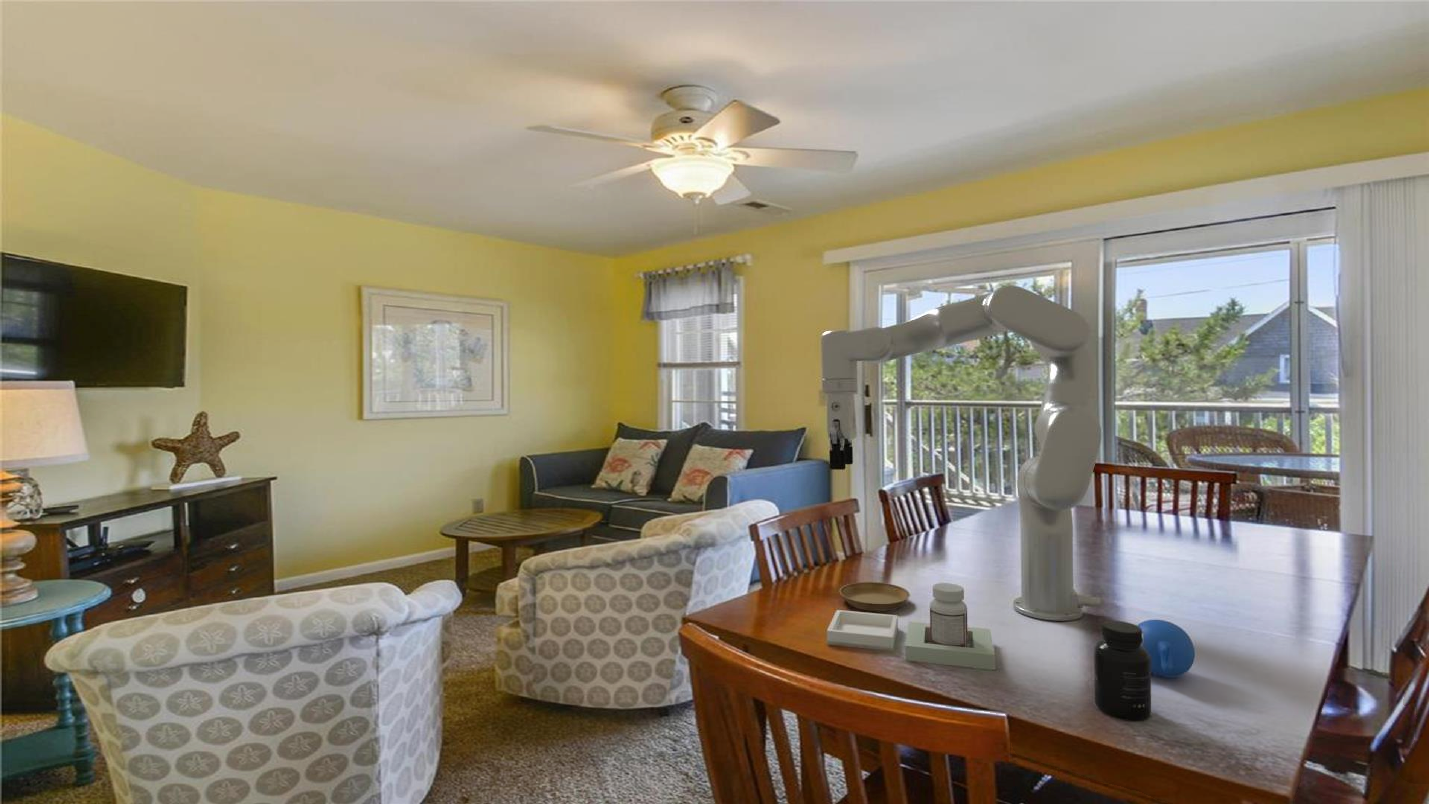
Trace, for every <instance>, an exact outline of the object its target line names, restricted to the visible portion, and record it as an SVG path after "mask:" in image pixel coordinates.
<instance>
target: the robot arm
mask: <svg viewBox="0 0 1429 804" xmlns="http://www.w3.org/2000/svg"><path fill="white" fill-rule="evenodd" d="M1008 331H1009V332H1012V333H1014V334H1015V335H1018V336H1020V337H1022V338H1023V339H1025V340H1027V341H1029V342H1030V345H1031V347H1032V348H1033V350H1034V351H1035V352H1036V353H1037V354H1038V355H1039V356H1040V357H1041V358H1042V360H1044V362H1045V364H1046V368H1047V377H1046V378H1047V379H1046V385H1045V390H1044V394H1043V397H1042V402H1041V405H1040V409H1039V412H1038V415H1037V418H1036V421H1035V425H1034V433H1035V437H1036V440H1037V441H1038V442H1039V443H1040V444H1041V445H1042V446H1041V450H1040V454H1039V455H1036V456H1033V457H1030V458H1028V459H1027V460H1026V461H1024V463H1023V464H1021V466H1020V469H1019V470H1018V472H1017V479H1016V481H1017V482H1016V483H1017V495H1018V505H1019V517H1020V519H1019V521H1020V588H1021V589H1020V593H1021V594H1020V595H1021V596H1019V597H1017V598H1015V599H1014V600H1013V601H1012V603H1013V604H1012V606H1013V609H1014V611H1017V612H1018V613H1020V614H1022V615H1025V616H1028V617H1030V618H1035V619H1040V620H1045V621H1052V622H1053V621H1055V622H1056V621H1058V622H1059V621H1060V622H1065V621H1074V620H1078V619H1080V618H1081V617H1082V616H1083V608H1084V607H1091V608H1097V609H1099V608H1100V609H1101V607H1102V601H1101V597H1095V596H1094V597H1093V596H1091V595H1090V594H1078V592H1076V590H1075V589H1074V542H1073V541H1074V527H1073V526H1074V522H1073V513H1072V509H1073V508H1075V507H1077V506H1078V505H1079V504H1080V503H1081V502H1082V501H1083V500H1084V498H1085V496H1086V494H1087V492H1088V490H1089V487H1090V484H1091V480H1092V476H1093V472H1094V468H1095V465H1096V461H1097V459H1098V454H1099V450H1100V447H1101V442H1102V428H1101V427H1102V426H1101V423H1100V421H1099V419H1098V417H1097V416H1096V415H1095V414H1094V413H1093V412H1092V411H1091V410H1090V408H1091V404H1092V402H1093V400H1092V399H1093V395H1094V390H1095V385H1096V380H1097V375H1096V374H1097V371H1096V369H1097V368H1096V364H1095V360H1094V357H1093V355H1092V353H1091V351H1090V349H1089V347H1088V346H1087V345H1088V344H1089V342H1090V340H1091V335H1092V334H1091V333H1092V331H1091V327H1090V324H1089V322H1088V321H1087V319H1086V318H1085V317H1084V316H1083V315H1082V314H1080V313H1078V312H1077V311H1075V310H1073V309H1071V308H1068V307H1067V306H1065V305H1062V304H1060V303H1057V302H1055V301H1053V300H1051V299H1048V298H1046V297H1044V296H1042V295H1040V294H1038V293H1036V292H1033V291H1031V290H1030V289H1029V290H1028V289H1027V288H1023V287H1022V286H1018V285H1013V284H1011V285H1010V284H1009V285H1003V286H1001V287H998V288H997V289H995V290H993V291H991V292H987V293H985V294H982V295H978V296H974V297H972V298H968V299H964V300H961V301H957V302H953V303H949V304H945V305H941V306H937V307H936V308H933V309H930V310H928V311H926V312H924V313H923V314H921V315H919V316H916V317H914V318H912V319H909V320H907V321H903V322H900V323H897V324H894V325H890V326H886V327H879V326H871V327H866V328H860V329H854V330H849V329H836V330H835V329H833V330H828V331H825V332H824V333H822V334H821V337H820V347H821V348H820V351H821V352H820V354H821V385H822V386H821V389H822V391H821V392H822V395H823V396H826V430H827V433H826V434H827V439H828V440H829V469H830V470H833V471H834V470H837V471H840V470H841V471H844V470H845V469H846V467H847V466H846V465H853V463H854V455H853V453H854V452H853V440H854V439H855V438H857V436H858V432H857V430H858V429H857V419H856V418H857V416H856V404H855V395H857V394H858V393H859V392H858V390H859V389H858V364H857V363H858V362H864V363H865V362H866V363H868V364H871V365H879V364H882V363H886V362H889V361H890V362H891V361H893V360H897V359H901V358H905V357H908V356H911V355H917V354H920V353H924V352H928V351H929V352H930V351H937V350H941V349H944V348H945V349H946V348H948V347H952V346H955V345H959V344H963V343H967V342H971V341H974V340H980V339H982V338H986V337H990V336H993V335H997V334H1001V333H1005V332H1008Z"/></svg>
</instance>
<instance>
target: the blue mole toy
mask: <svg viewBox="0 0 1429 804" xmlns="http://www.w3.org/2000/svg"><path fill="white" fill-rule="evenodd" d="M1136 626H1138V627H1140V628H1141V629H1142V638H1143V643H1142V644H1141V646H1143V647H1144V648H1145V649H1146V650H1147V651H1148V652H1149V654H1150V657H1151V675H1152V674H1153V675H1155V676H1159V677H1162V678H1176V677H1179V676H1182V675H1185V674H1186V673H1188V672H1189V670H1191V668H1192V667H1193V664H1194V663H1195V657H1196V655H1195V654H1196V653H1195V647H1194V643H1193V641H1192V639H1191V637H1190V636H1189V635H1188V633H1187V632H1186V631H1185V630H1184V629H1183V628H1181V627H1180V626H1179V625H1177V624H1175V623H1174V622H1170V621H1168V620H1163V619H1148V620H1144V621H1142V622H1140V623H1138V624H1137V625H1136Z"/></svg>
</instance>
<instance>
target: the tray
mask: <svg viewBox="0 0 1429 804" xmlns="http://www.w3.org/2000/svg"><path fill="white" fill-rule="evenodd" d="M898 620H899V618H898V615H895V614H885V613H876V612H875V613H873V612H863V611H853V610H844V609H842V610H841V609H837V610H836V611H835V613H834V615H833V617H832V619H831V621H830V623H829V625H828V627H827V630H826V645H830V646H837V647H838V646H839V647H849V648H856V647H857V648H859V649H866V648H867V650H877V651H884V650H886V651H887V652H894V651H895V644H896V640H897V634H898V630H899V622H898Z"/></svg>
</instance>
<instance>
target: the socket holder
mask: <svg viewBox="0 0 1429 804" xmlns="http://www.w3.org/2000/svg"><path fill="white" fill-rule="evenodd" d="M967 636H968V646H972V647H968V648H967V647H957V646H947V645H938V644H930V643H927V642H926V641H928V642H930V622H929V623H928V622H927V623H926V622H919V621H918V622H917V621H908V625H907V630H906V637H905V642H904V643H905V644H904V652H905V653H904V655H905V656H904V657H905V658H904V660H905V661H910V662H918V663H926V664H927V663H928V664H936V665H947V666H953V667H962V668H969V669H970V668H973V669H979V670H989V671H996V654H995V649H994V643H993V639H992V633H991V629H990V628H983V627H981V628H980V627H973V626H967Z"/></svg>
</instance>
